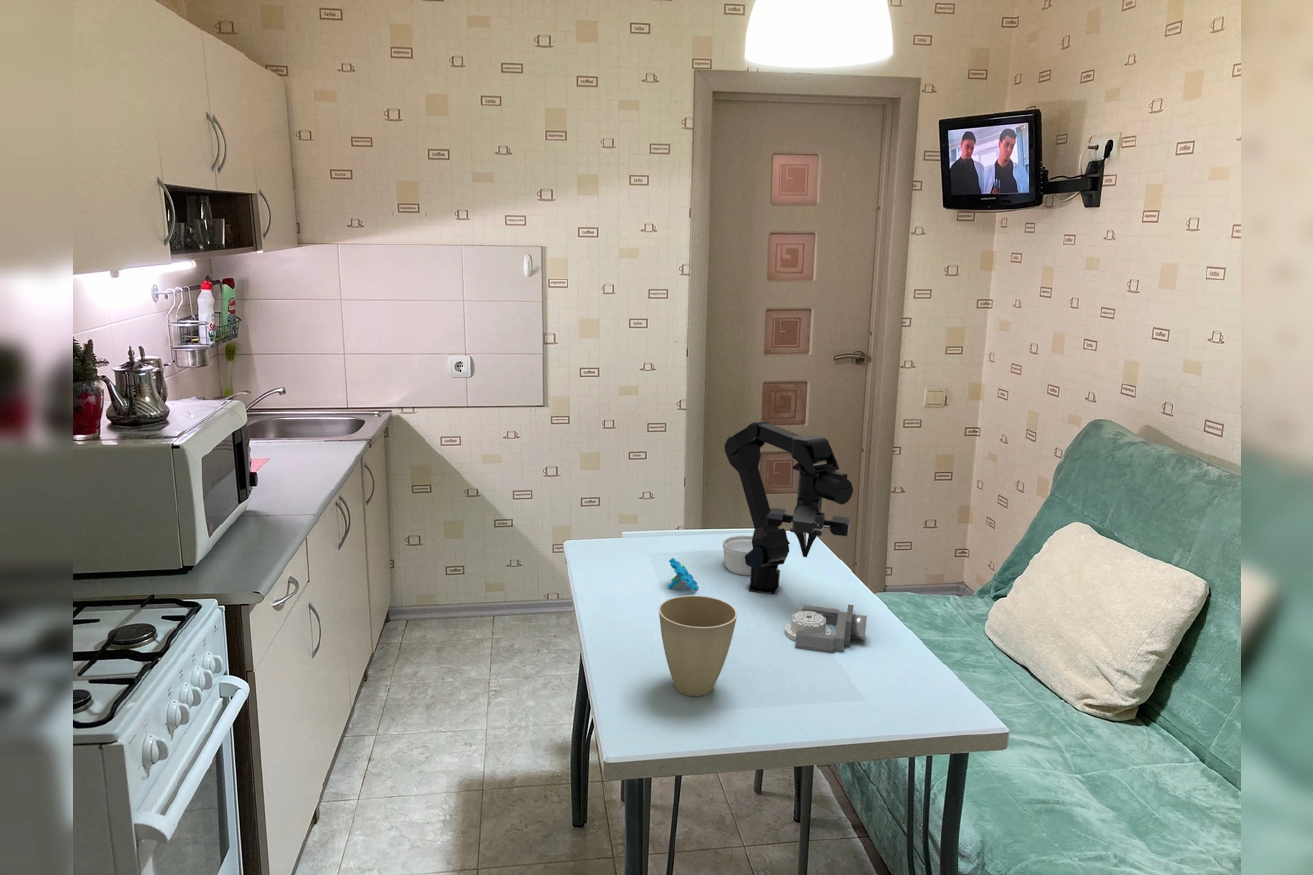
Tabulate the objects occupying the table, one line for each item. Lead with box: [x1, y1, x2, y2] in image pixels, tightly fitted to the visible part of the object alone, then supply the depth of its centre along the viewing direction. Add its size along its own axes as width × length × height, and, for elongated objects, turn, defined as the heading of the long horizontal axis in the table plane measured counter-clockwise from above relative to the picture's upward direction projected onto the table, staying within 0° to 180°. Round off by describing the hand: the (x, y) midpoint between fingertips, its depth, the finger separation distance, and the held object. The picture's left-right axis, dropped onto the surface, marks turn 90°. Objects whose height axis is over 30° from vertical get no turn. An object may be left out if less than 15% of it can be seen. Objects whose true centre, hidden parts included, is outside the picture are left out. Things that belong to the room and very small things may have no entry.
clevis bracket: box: [794, 604, 868, 653], centre depth 200 cm, size 14×16×6 cm
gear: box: [667, 557, 700, 592], centre depth 224 cm, size 11×6×10 cm
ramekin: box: [722, 534, 753, 577], centre depth 238 cm, size 13×13×7 cm
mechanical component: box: [784, 610, 832, 642], centre depth 201 cm, size 10×4×10 cm
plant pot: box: [658, 595, 738, 697], centre depth 176 cm, size 15×15×16 cm
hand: (805, 556), depth 212 cm, fingers closed
